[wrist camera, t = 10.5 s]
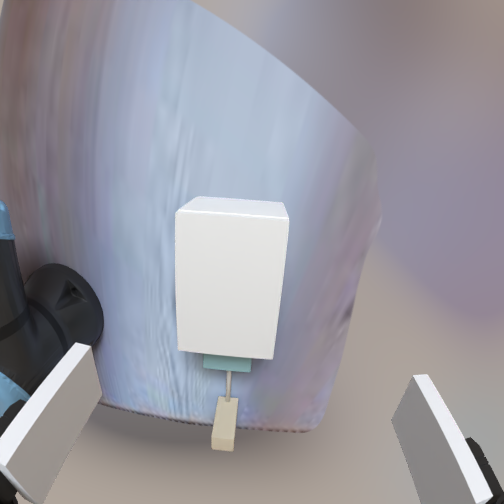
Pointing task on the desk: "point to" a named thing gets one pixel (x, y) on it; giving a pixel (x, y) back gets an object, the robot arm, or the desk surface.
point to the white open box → (229, 275)
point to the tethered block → (225, 400)
